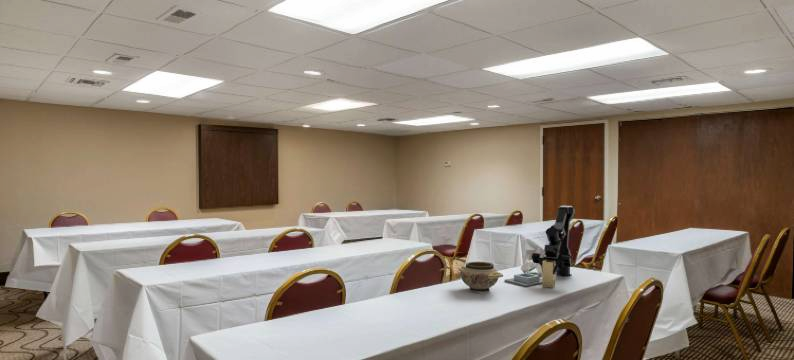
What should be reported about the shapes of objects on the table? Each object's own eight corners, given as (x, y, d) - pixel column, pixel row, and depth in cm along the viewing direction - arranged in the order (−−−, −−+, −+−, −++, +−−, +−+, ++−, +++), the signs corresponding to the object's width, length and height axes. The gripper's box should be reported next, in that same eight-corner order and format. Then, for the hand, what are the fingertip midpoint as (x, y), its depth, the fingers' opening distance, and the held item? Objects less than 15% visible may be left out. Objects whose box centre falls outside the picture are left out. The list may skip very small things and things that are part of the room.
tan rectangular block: (545, 284, 231) (545, 259, 230) (555, 285, 228) (555, 260, 228) (542, 286, 226) (542, 261, 226) (552, 287, 224) (552, 262, 224)
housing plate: (527, 277, 248) (527, 271, 248) (548, 282, 236) (548, 275, 236) (504, 281, 238) (504, 274, 238) (525, 287, 226) (525, 280, 226)
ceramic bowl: (508, 299, 214) (513, 267, 217) (485, 295, 203) (491, 262, 206) (468, 289, 233) (473, 260, 235) (445, 285, 222) (451, 255, 224)
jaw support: (549, 267, 259) (545, 257, 253) (546, 280, 254) (542, 271, 248) (528, 265, 266) (524, 255, 260) (524, 278, 261) (520, 268, 255)
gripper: (532, 237, 235) (526, 261, 226) (570, 240, 225) (565, 266, 216) (536, 250, 242) (530, 274, 233) (573, 253, 232) (568, 279, 223)
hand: (548, 273), depth 226 cm, fingers closed on tan rectangular block, 5 cm apart
